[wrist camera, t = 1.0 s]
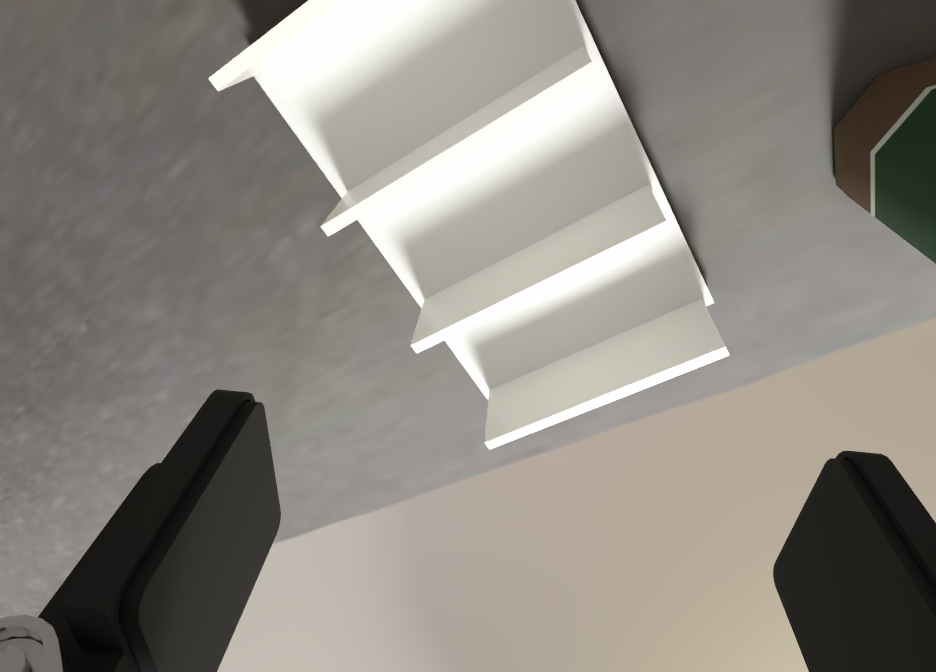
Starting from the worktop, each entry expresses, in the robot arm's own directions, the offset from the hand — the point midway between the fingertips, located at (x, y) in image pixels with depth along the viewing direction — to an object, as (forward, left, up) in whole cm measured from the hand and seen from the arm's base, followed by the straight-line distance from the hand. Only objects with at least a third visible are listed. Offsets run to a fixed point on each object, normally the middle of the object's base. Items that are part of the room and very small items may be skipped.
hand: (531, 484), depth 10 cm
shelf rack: (+3, +2, -25) cm, 26 cm away
